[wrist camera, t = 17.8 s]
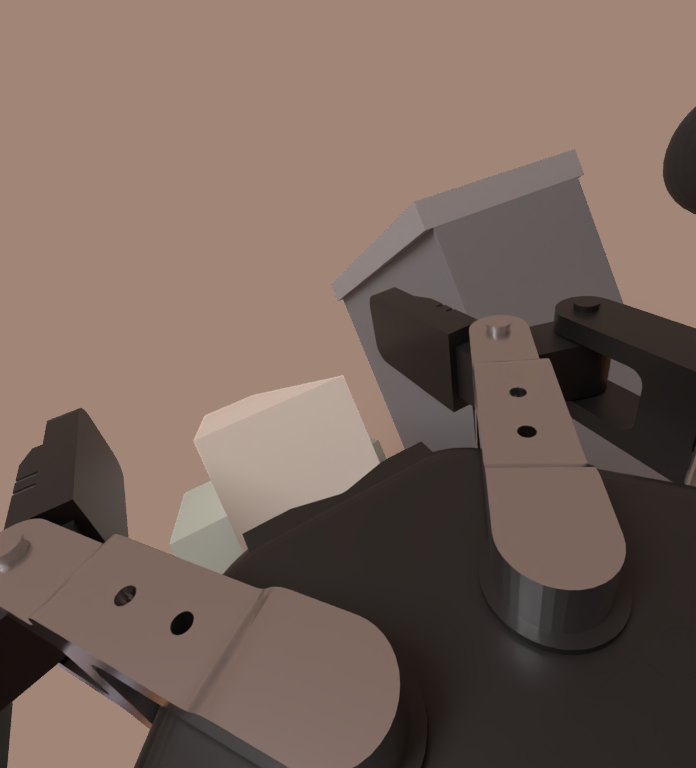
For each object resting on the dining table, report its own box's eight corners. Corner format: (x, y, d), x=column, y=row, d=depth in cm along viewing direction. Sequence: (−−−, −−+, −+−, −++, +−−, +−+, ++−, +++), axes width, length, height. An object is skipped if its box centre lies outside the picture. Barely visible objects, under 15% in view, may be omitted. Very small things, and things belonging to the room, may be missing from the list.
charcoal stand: (559, 556, 43) (437, 245, 41) (751, 641, 28) (574, 149, 25) (469, 618, 40) (331, 284, 37) (629, 751, 25) (413, 201, 22)
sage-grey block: (437, 696, 33) (322, 428, 31) (541, 831, 23) (378, 440, 21) (317, 782, 30) (184, 493, 29) (374, 983, 20) (169, 544, 18)
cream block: (273, 440, 36) (253, 394, 35) (400, 513, 12) (342, 375, 12) (225, 462, 35) (204, 415, 34) (261, 592, 11) (193, 440, 10)
